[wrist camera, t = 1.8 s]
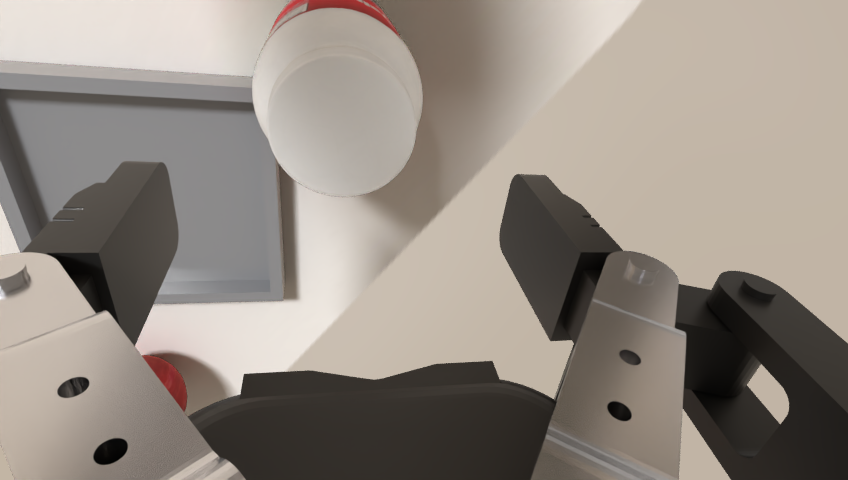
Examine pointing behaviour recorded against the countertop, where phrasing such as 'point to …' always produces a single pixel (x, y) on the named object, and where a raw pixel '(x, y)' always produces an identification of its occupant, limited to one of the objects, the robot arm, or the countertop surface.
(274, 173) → the slate dish
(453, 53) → the countertop surface
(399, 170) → the pill bottle
